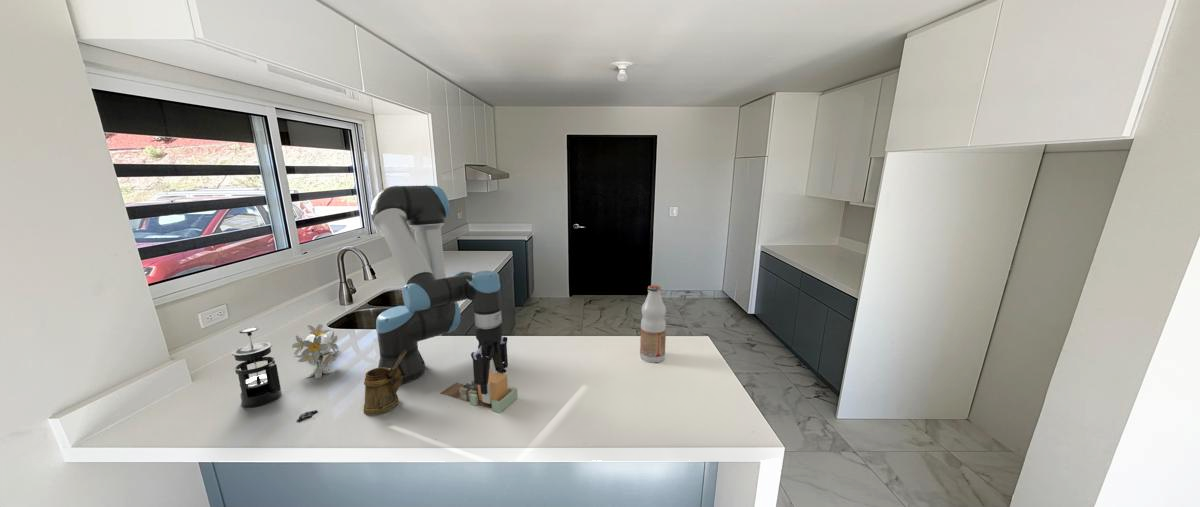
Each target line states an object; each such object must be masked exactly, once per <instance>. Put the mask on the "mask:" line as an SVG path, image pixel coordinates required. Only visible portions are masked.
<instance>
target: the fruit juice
mask: <svg viewBox="0 0 1200 507" xmlns="http://www.w3.org/2000/svg"><path fill="white" fill-rule="evenodd" d="M647 292H648V293H647V295H646V298H645V301H644V303H643V304H642V305H641V315H642V318H641V320H640V339H639V340H640V342H639V343H640V346H639V347H640V348H639V355H640V358H641V359H642V361H644V362H646V361H647V362H648V363H651V362H652V363H653V364H655V362H657V363H660V362H663V361H664V360H665V357H666V339H667V338H666V336H667V333H666V330H667V321H666V318H665V317H666V315H667V308H666V305H665V303H664V301H663V298H662V295H661V292H662V287H661V286H660V285H653V284H652V285H648V287H647ZM662 360H663V361H662Z"/></svg>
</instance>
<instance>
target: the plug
mask: <svg viewBox="0 0 1200 507" xmlns="http://www.w3.org/2000/svg"><path fill="white" fill-rule="evenodd" d="M495 372H496V371H490V370H489V378H488V382H490V387H491V401H493V400H497V401H500V400H501V399H503V398H504V397H505V396H506V395H507V394H508V388H509V386H508V375H507V374H504V373H503V374H499V373H495ZM464 385H465V386H464V388H467V389H468V391H469V390H474V391H477V395H478V396H479V400H481V401H482V394H481V388H480V385H478V386H476V385H472V384H471V383H465V384H464ZM491 404H492V402H491Z"/></svg>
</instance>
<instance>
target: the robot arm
mask: <svg viewBox="0 0 1200 507" xmlns="http://www.w3.org/2000/svg"><path fill="white" fill-rule="evenodd" d="M450 206H451V205H450V201H449V199H448V196H447V194H446V193H445V191H444V189H442V188H441V187H440V186H437V185H427V184H425V185H392V186H389V187H386V188H384V189H383V190H381V191H380V192H378V194H377V195H376V196H375V198H373V201H372V203H371V208H370V216H371V220H372V222H373V225H374V227H375V228H376V229H377V230H378V231H381V233H382V235H383V238H384V239H385V242H386V244H387V246H388V248H389V250H390V253H391V254H392V257H393V259H394V261H395V263H396V266H397V268H398V269H399V271H400V273H401V274H400V275H401V276H402V278H403V280H404V282H405V284H406V285H404V286H403V288H402V294H401V295H402V300H403V304H404V305H397V306H394V307H390V308H388V309H386V310H384V311H382V312H381V313H379V315H378V316H377V317H376V322H375V324H376V325H375V326H376V328H375V329H376V330H375V331H376V333H377V342H378V348H379V361H378V365H377V368H380V367H386V368H391V367H392V365H393V364H394V363H395V361H396V360H397V358H398V357H399V356H400V355H401V353H402V352H403V351H404V350H405V349H406V351H407V353H406V354H405V356H404V357H403V359H402V360H401V362H400V363H399V365H398V366H397V368H398V369H399V370H400V372H401V375H402V382H401V384H400V385H402V384H406V383H409V382H412V381H414V380H416V379H418V378H420V377H422V376H423V375H424V373H425V372H426V363H425V360H424V358H423V356H422V354H421V352H420V351H419V347H418V345H419V344H418V343H419V342H421V341H426V340H428V339H431V338H434V337H437V336H442V335H443V336H444V335H447V334H449V333H451V332H454V331H455V330H456V329H457V328H458V327H459V326H460V322H461V308H460V305H459V303H458V302H461V301H465V300H470V301H471V302H473V312H474V313H473V314H474V325H475V329H474V330H475V339H476V340H477V341H478V345H477V349H476V350H475V352H474V351H473V352H471V354H470V356H471V359H472V365H473V379H474V383H475V384H478V385H480V388H481V394H482V401H483V402H485V403H488V404H490V403H491V387H490V382H488V378H489V371H490V367H491V361H492V362H493V366H494V369H495V371H494V372H495V373H499V374H503V375H504V373H505V374H507V373H506V372H507V368H508V366H509V362H508V337H507V336H504V334H503V323H502V320H503V319H502V297H501V295H502V294H501V283H500V274H499V273H498V272H497V271H495V270H481V271H477V272H474V273H473V272H470V271H459V272H458V273H455V275H453V276H448V277H447V276H446V268H445V259H444V258H445V257H444V249H443V248H444V247H443V239H442V227H443V226H444V225H445V219H446V218H448V217H449V216H450V211H451V209H450V208H451V207H450ZM411 229H412V230H413V232H414V234H413V232H412V230H411ZM395 382H396V379H395V378H394V377H393V378H392V383H393V384H394V383H395Z"/></svg>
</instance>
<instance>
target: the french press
mask: <svg viewBox="0 0 1200 507" xmlns="http://www.w3.org/2000/svg"><path fill="white" fill-rule="evenodd" d="M258 330H259V327H247V328H244V329H241V330H239V333H240V334H246V335H247V336H248V338H249V342H250V344H246V345H243V346H240V347H237V348H236V349H234V350H233V351H232V352H231V355H232V356H233V357H234V359H235V361H237V362H241V363H239V364H237V365H235V367H234V370H235V374H236V375H238V380H239V387H240V390H241V392H240V394H239V395H240V400H241V402H240V406H241V407H242V408H244V409H245V408H246V409H247V408H248V409H250V408H251V409H252V408H257V407H261V406H264V405H265V406H266V405H268V404H270V403H272V402H274V401H276V400H278V399H279V398H280V397H281V396H282V394H283V393H282V389H281V382H280V377H279V376H280V375H279V372H278V366H277V364H276V361H275V357H273V356H268V355H269V354H270V353H271V352H272V348H271V347H272V346H273V344H272V342H267V341H263V342H261V341H260V342H254V343H253V339H252V332H256V331H258ZM258 362H259V363H261V362H267V364H265V365H263V366H260V367H258V366H257V363H258ZM251 364H254V368H251V369H248V365H251ZM263 371H265V373H262V374H259V373H260V372H263ZM251 374H256V375H254V376H251V377H250V375H251Z"/></svg>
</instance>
